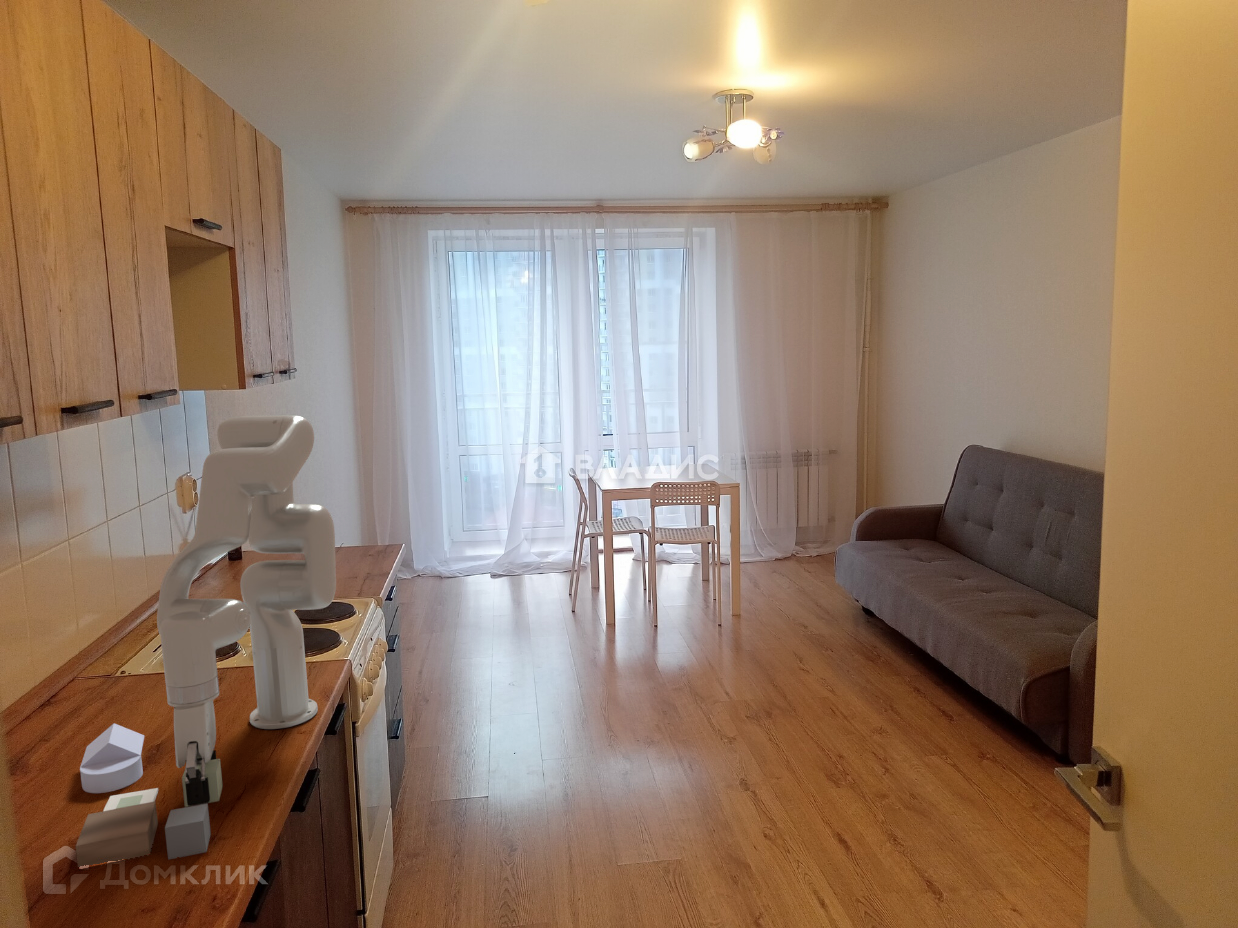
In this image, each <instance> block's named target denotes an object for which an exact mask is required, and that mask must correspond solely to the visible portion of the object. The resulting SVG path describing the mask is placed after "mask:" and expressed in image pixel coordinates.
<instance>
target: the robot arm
mask: <svg viewBox="0 0 1238 928" xmlns="http://www.w3.org/2000/svg"><path fill="white" fill-rule="evenodd" d="M216 433H217V434H216V436H217V441H218V445H219V446H220V448H221V449H218V450H215V451H212V452H211V453H210V454H209V455H207V456H206V458H205V459H204V463H203V465H202V471H201V472H202V473H201V482H200V489H199V497H198V498H199V499H198V506H197V516H196V521H195V522H196V524H195V533H194V535H193V537H192V539H191V540H190V541H189V542H188V543H187V544H186V545H185V546H184V547H183V549H182V550H181V551H180V552H179V553H178V554H177V555H176V557H175V558H174V559H173V561H172V562H171V564H170V565H169V567H168V569H167V570H166V572H165V574H164V576H163V578H162V581H161V585H160V588H159V595H158V602H157V603H158V605H157V614H156V624H157V625H156V626H157V630H158V634H159V635H160V642H161V643H160V645H161V652H162V653H161V654H162V661H163V670H164V673H163V674H164V680H165V688H166V697H167V704H168V706H170V707H172V708H173V707H174V708H173V735H174V736H173V737H174V749H175V751H174V752H175V765H176V767H177V768H178V769H181V768H183V767H184V766H185V768H186V775H185V786H186V795H187V804H188V807H191V806H192V805H193V806H197V805H198V804H199V805H202V804H204V803H205V804H209V803H208V802H209V801H210V793H209V783H208V777H207V778H206V763H208V762H209V761H210V760H214V759H218V758H217V751H216V749H215V745H216V741H217V727H216V726H217V725H216V723H217V722H216V714H215V705H214V700H216V698H218V697H219V696H220V687H219V686H220V684H219V677H218V665H217V655H216V651H217V650H218V649H220V648H223V647H226V646H230V645H231V644H234V643H236V642H238V641H239V640H241V639H242V638H243V637H244V636H246V634H247V632H248V631H249V632H250V640H251V642H250V643H251V651H252V653H251V654H252V662H253V673H254V682H255V694H256V704H257V705H256V706H257V707H256V708H255V709H253V710H252V711H251V713H250V714H249V722H250V724H251V726H253V727H255V728H258V729H262V730H263V729H264V730H277V729H278V730H279V729H285V728H286V729H287V728H291V727H294V726H297V725H300V724H303V723H306V722H307V721H309V720H311V719H312V718H313V717H315V716H316V714H317V713H318V711H319V710H318V709H319V708H318V703H317V702H316V701H315V700H313V699H311V698H309V689H308V677H307V676H308V675H307V664H306V662H307V661H306V653H305V639H304V630H303V626H302V622H301V621H300V619H299V617H298V616H297V614H296V613H295V610H298V611H300V610H301V611H302V610H303V611H306V610H321V609H324V608H327V607H328V606H329V605H330V604H332V602H333V600H334V599H335V596H336V595H335V594H336V590H337V570H336V567H337V565H336V564H337V563H336V542H335V541H336V539H335V537H336V536H335V535H336V533H335V524H334V520H333V517H332V514H331V513H330V511H329V510H328V509H327V508H326V507H325V506H323V505H321V504H315V503H299V504H298V503H296V502H295V500H294V487H293V486H294V484H293V483H294V481H295V479H296V478H297V476H298V474H299V473H300V471H301V470H302V468H303V466H304V465H305V464H306V462H307V460H308V459H309V457H310V455H311V453H312V451H313V448H314V444H315V433H314V428H313V426H312V424H311V423H310V421H309V420H308V419H306V418H305V417H303V416H300V415H293V414H292V415H291V414H290V415H289V414H288V415H287V414H285V415H242V416H235V417H229V418H227V419H225V420H223V421H222V422H220V424H219V425H218V427H217V431H216ZM247 542H248V543H249V546H250V547H251V549H252V550H253V551H254V552H256V553H260V554H280V555H282V554H285V555H286V554H303V556H304V559H303V560H301V559H299V560H297V559H293V560H292V559H279V560H277V559H274V560H273V559H271V560H268V559H267V560H260V561H257V562H255V563H252V564H251V565H249V566H248V567H246V568H245V569H244V571H243V572H242V574H241V577H240V585H239V587H240V593H241V597H242V601H241V600H240V599H234V598H189V594H190V589H191V586H192V582H193V580H194V578H195V577H196V576H197V574H198V573H199V572H200V570H201V569H202V568H203V567H204V566H206V565H207V564H208V563H210V562H212V561H213V560H214V559H217V558H218V557H220V556H221V555H224V554H226V553H228V552H231V551H233V550H235V549H237V548H239V547H242V546H243V545H244V544H246V543H247ZM197 766H201V771H200V770H199V769H197Z"/></svg>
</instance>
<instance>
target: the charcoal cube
mask: <svg viewBox="0 0 1238 928" xmlns="http://www.w3.org/2000/svg"><path fill="white" fill-rule="evenodd" d="M208 804H209V803H205V804H199V805H193V806H188V807H181V808H176V809H171V810H170V811H169V815H168V817H167V821H166V823H165V826H164V833H165V841H166V850H167V859H168V860H173V859H178V858H177V857H179V858H184V857H188V856H192V855H193V856H194V855H198V854H199V855H200V854H204V853H207V851H208V847H209V842H210V840H211V835H212V833H211V824H210V816H209V815H210V813H209V805H208Z"/></svg>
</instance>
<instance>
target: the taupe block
mask: <svg viewBox="0 0 1238 928" xmlns="http://www.w3.org/2000/svg"><path fill="white" fill-rule="evenodd" d="M158 824H159V822H158V813H157V805H156V800H155V801H154V802H149V803H144V804H139V805H133V806H128V807H123V808H118V809H113V810H108V811H98V812H93V813H88V814H87V816H86V819H85V821H84V824H83V826H82V829H81V831H80V834H79V836H78V839H77V841H76V844H75V852H76V860H77V861H76V862H77V868H78V867H80V866H84V865H85V866H86V865H93V864H100V863H104V862H108V861H118V860H122V859H128V860H131V859H130V858H133V859H136V858H135V857H138V858H141V857H140V856H142V857H145V856H144V855H147V856H149V855H148V854H150V855H151V853H152V849H151V848H153V845H154V839H155V836H156V832H157V828H158ZM152 844H153V845H152ZM150 852H151V853H150Z"/></svg>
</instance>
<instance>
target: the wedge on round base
mask: <svg viewBox="0 0 1238 928" xmlns="http://www.w3.org/2000/svg"><path fill="white" fill-rule="evenodd" d="M144 741H145V735H144V734H141V733H139V732H137V731H134V730H132V729H130V728H126V727H124V726H122V725H119V724H117V723H112V724H111V725H110V726H109V727H108V728H107V729H105V730H104V731H103V732H102V733H101V734H100V735H98V736H97V737H96V738H95V739H94V740H93V741H91V743H89V744H88V745H87V746H86V748H85V752H84V755H83V758H82V761H81V764H80V766H79V771H80V781H81V787H82V790H83V791H84V792H86V793H88V794H89V793H90V794H102V793H109V792H114V791H117V790H120V789H124V788H126V787H129V786H130V785H132V784H134V783H136V782H137V781H138V780H140V779H141V778H142V776H143V774H144V771H143V769H144V768H143V761H142V751H143V745H144Z"/></svg>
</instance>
